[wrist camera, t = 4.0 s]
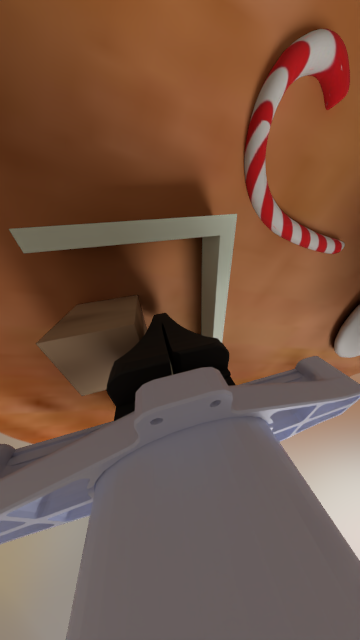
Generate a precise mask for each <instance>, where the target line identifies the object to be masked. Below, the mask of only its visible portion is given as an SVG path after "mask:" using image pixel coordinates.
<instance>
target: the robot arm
mask: <svg viewBox="0 0 360 640" xmlns="http://www.w3.org/2000/svg"><path fill="white" fill-rule="evenodd" d="M169 359H170V360H169ZM170 362H171V365H170ZM228 362H229V352H228V350H227V349H226V347H225V346H224V345H223V344H222V343H221V342H220V341H219V339H218V338H213V337H207V336H203V335H200V334H197V333H194V332H192V331H189V330H187V329H185V328H183V327H182V326H180V325H179V324H177V323H176V322H175V321H174V320H172V319H171V318H170V317H169V316H168V315H167V314H166V313H162V314H156V315H154V316H153V319H152V322H151V324H150V326H149V328H148V330H147V331H146V333H145V335H144V336H143V337H142V339H141V340H140V341H139V342H138V343H137V344H136V345H135V346H134V347H133V348H132V349H131V350H130V351H128V352H127V353H126V354H124V355H123V356H122V357H120V358H119V359H117V360H116V361H114V364H113V366H112V369H111V371H110V375H109V379H108V382H107V388H106V390H107V393H108V395H109V396H110V398H111V399H112V401H113V403H114V404H115V406H116V411H115V417H114V421H112V422H109V423H105V424H102V425H98V426H95V427H91V428H88V429H84V430H81V431H77V432H74V433H71V434H67V435H64V436H60V437H57V438H53V439H50V440H46V441H43V442H39V443H36V444H32V445H29V446H26V447H22V448H19V449H14V448H13V447H12V446H10V445H7V444H0V544H3V543H6V542H9V541H12V540H15V539H18V538H21V537H24V536H27V535H30V534H33V533H36V532H40V531H43V530H46V529H49V528H52V527H55V526H58V525H62V524H65V523H68V522H71V521H74V520H78V519H81V518H84V517H87V516H90V518H89V524H88V528H87V534H86V539H85V544H84V549H83V554H82V559H81V564H80V570H79V575H78V580H77V585H76V590H75V595H74V601H73V605H72V611H71V616H70V621H69V626H68V632H67V636H66V640H360V561H359V559H358V558H357V556H356V555H355V553H354V552H353V551H352V549H351V548H350V546H349V545H348V543H347V542H346V540H345V539H344V537H343V536H342V534H341V533H340V531H339V530H338V528H337V527H336V525H335V524H334V522H333V521H332V520H331V518H330V516H329V515H328V514H327V512H326V511H325V509H324V508H323V506H322V505H321V503H320V502H319V500H318V499H317V497H316V496H315V494H314V493H313V491H312V490H311V488H310V487H309V485H308V484H307V483H306V481H305V480H304V478H303V477H302V475H301V474H300V472H299V471H298V469H297V468H296V466H295V465H294V463H293V462H292V460H291V459H290V457H289V456H288V454H287V453H286V451H285V450H284V448H283V447H282V445H281V444H280V441H282V440H285V439H287V438H289V437H291V436H293V435H295V434H297V433H299V432H301V431H304V430H306V429H308V428H310V427H312V426H314V425H316V424H319V423H321V422H323V421H326V420H328V419H331V418H333V417H336V416H338V415H340V414H342V413H343V412H344V411H346V410H347V409H348V408H349V407H350V406H352V405H353V404H354V403H355V402H356V401H357V400H359V399H360V384H358V383H357V382H356V381H354V380H353V379H351V378H350V377H348V376H347V375H345V374H344V373H342V372H341V371H339V370H338V369H336V368H335V367H333V366H331V365H330V364H328V363H327V362H325V361H324V360H322V359H321V358H319V357H318V356H313V357H309V358H305V359H302V360H301V361H299V362H298V363H297V365H296V367H295V369H292V370H289V371H285V372H282V373H278V374H275V375H271V376H268V377H265V378H261V379H258V380H254V381H251V382H247V383H244V384H240V385H235V383H234V382H233V380H232V379H231V377H230V375H231V374H230V372H229V370H228V369H227V368H228ZM171 367H172V371H173V375H172V371H171Z"/></svg>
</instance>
